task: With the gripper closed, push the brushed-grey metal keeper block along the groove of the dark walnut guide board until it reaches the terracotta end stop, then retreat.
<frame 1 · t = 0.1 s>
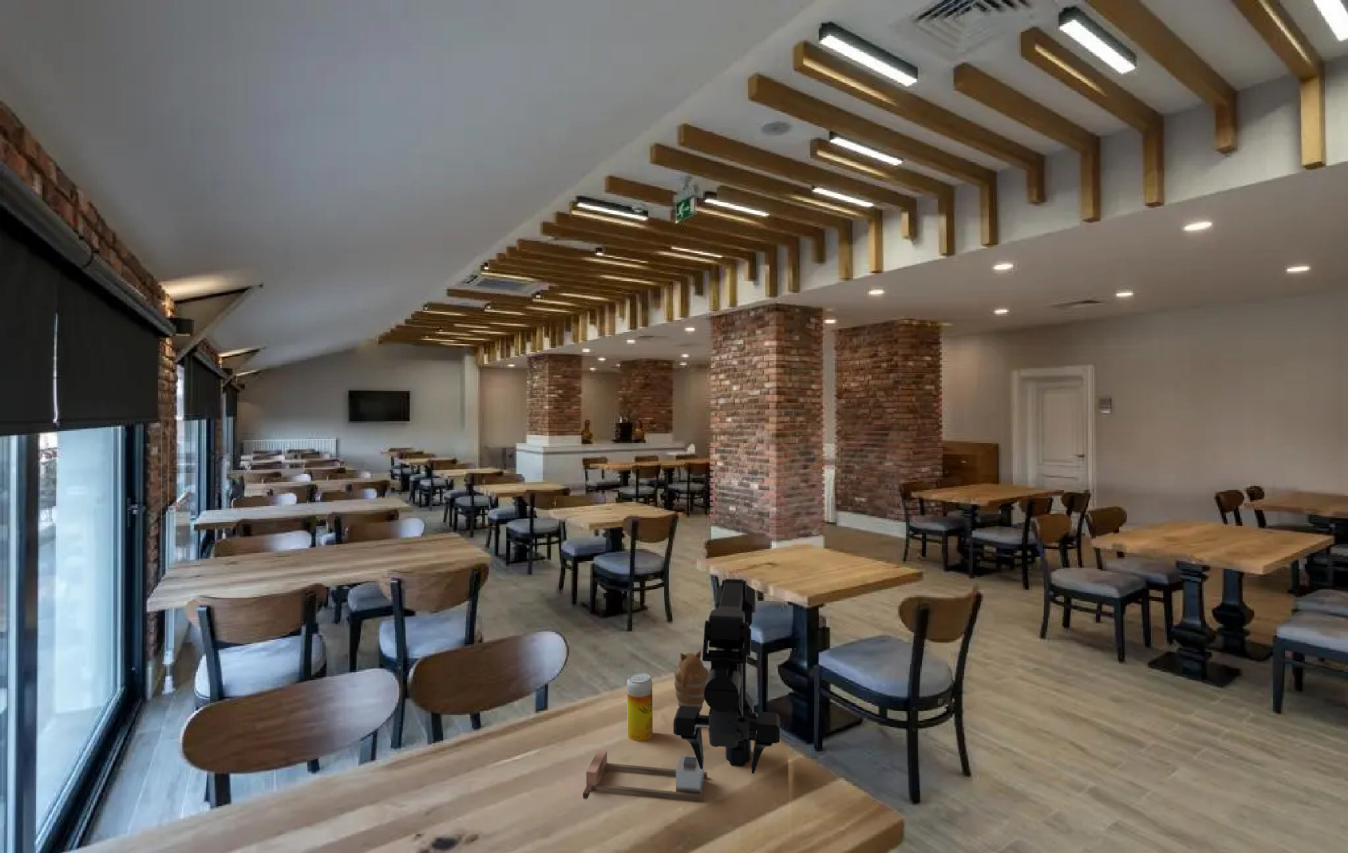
hand: (727, 770, 112), 15 cm above the table, fingers open, 9 cm apart
cat ice cream: (691, 722, 158), on the table
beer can: (640, 739, 150), on the table
guide board: (647, 788, 131), on the table
keeper: (690, 774, 129), point 4 cm above the table, slide at 0.0 cm
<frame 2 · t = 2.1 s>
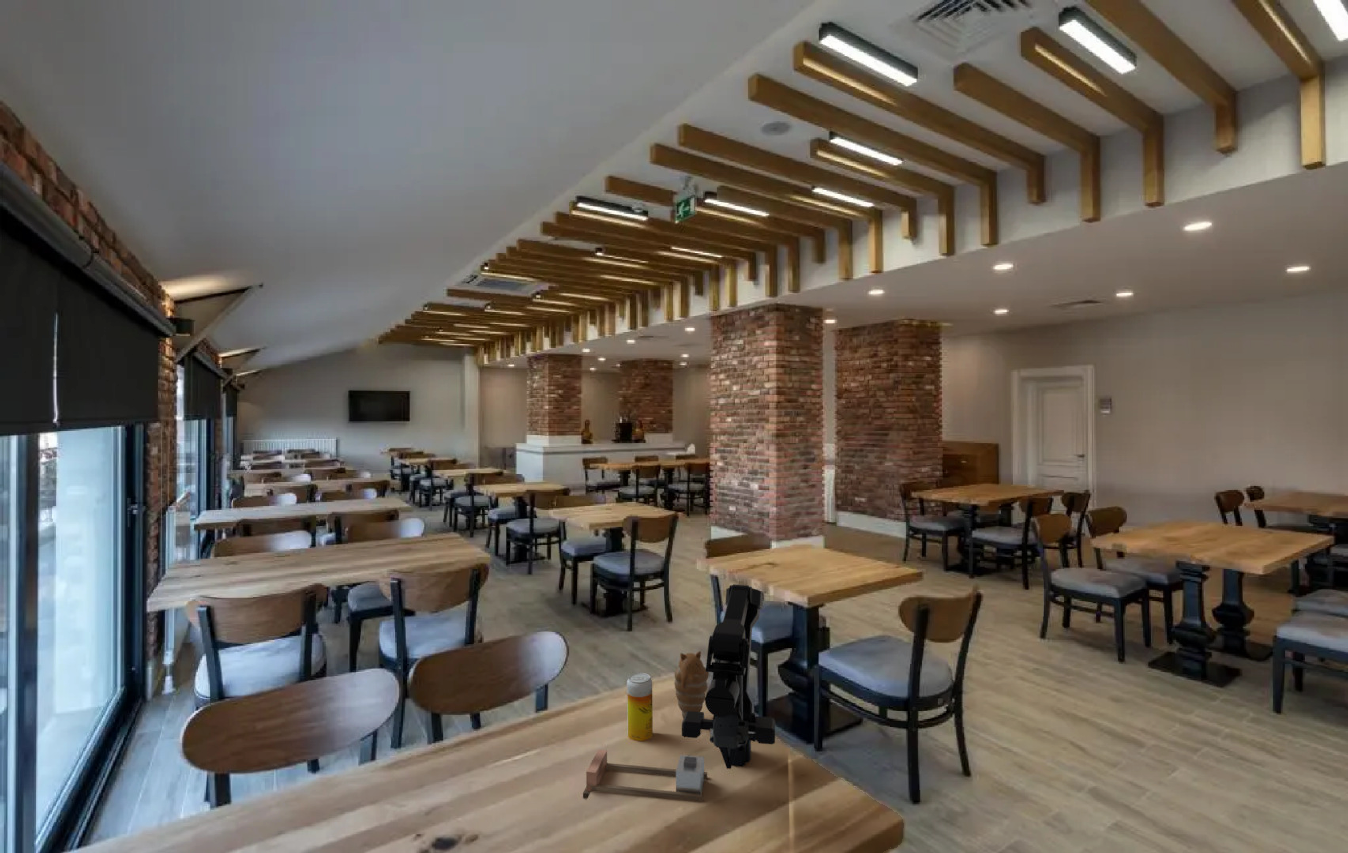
hand: (729, 767, 128), 6 cm above the table, fingers closed
nothing on the table moved.
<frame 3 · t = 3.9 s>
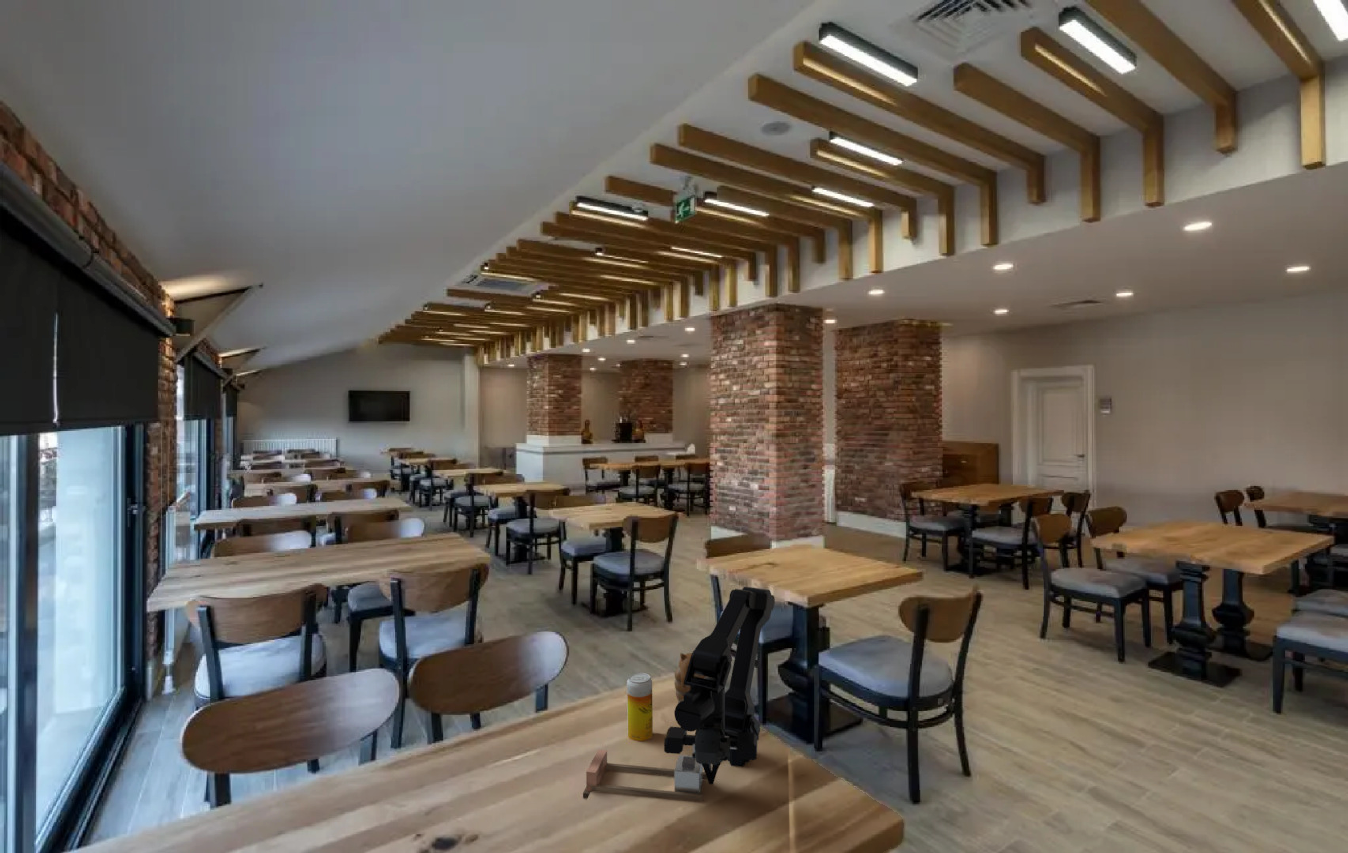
hand: (711, 783, 128), 3 cm above the table, fingers closed
keeper: (688, 773, 129), point 4 cm above the table, slide at 0.3 cm, touching gripper
everything else where it was.
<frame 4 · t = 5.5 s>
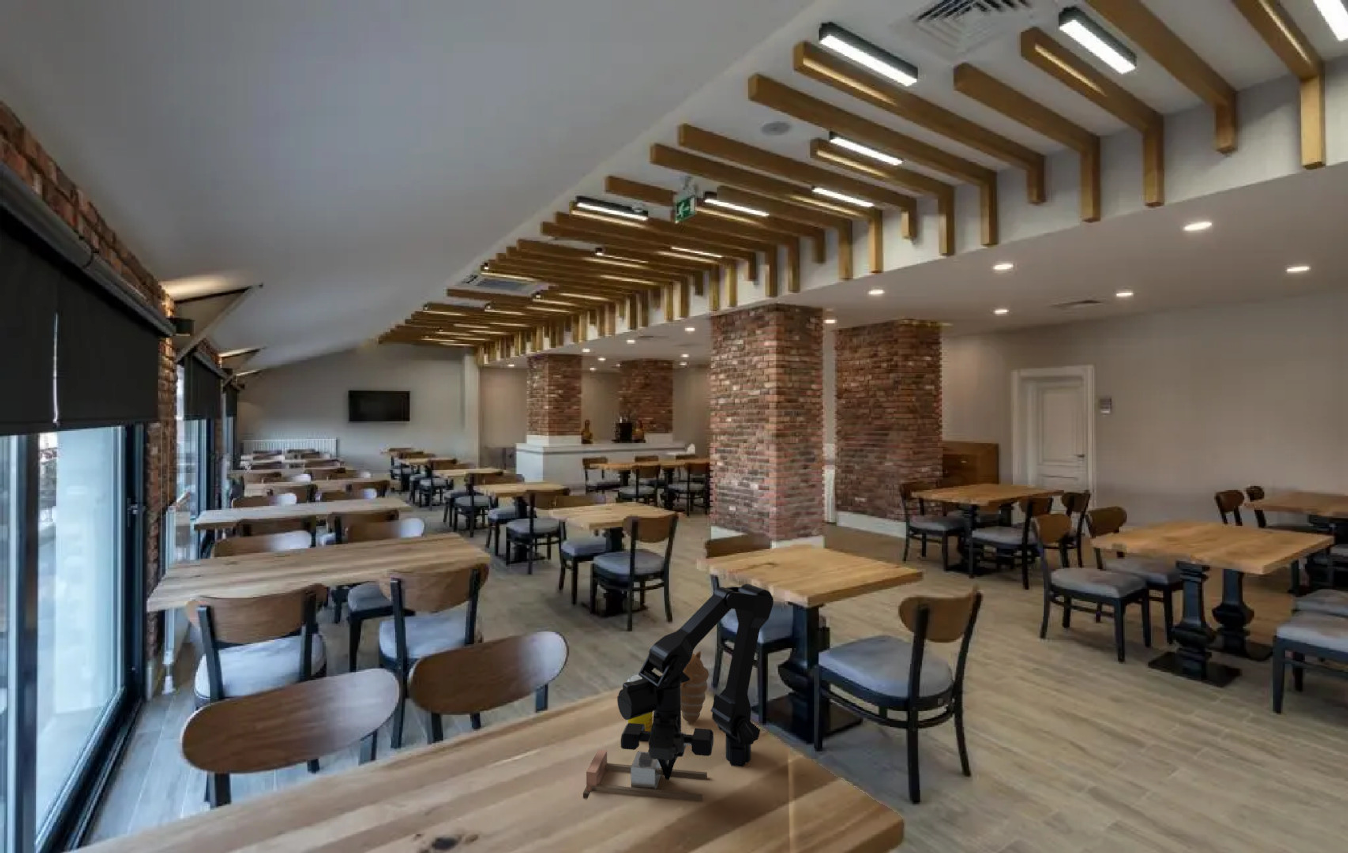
hand: (667, 779, 130), 3 cm above the table, fingers closed
keeper: (646, 769, 131), point 4 cm above the table, slide at 9.4 cm, touching gripper
everything else where it was.
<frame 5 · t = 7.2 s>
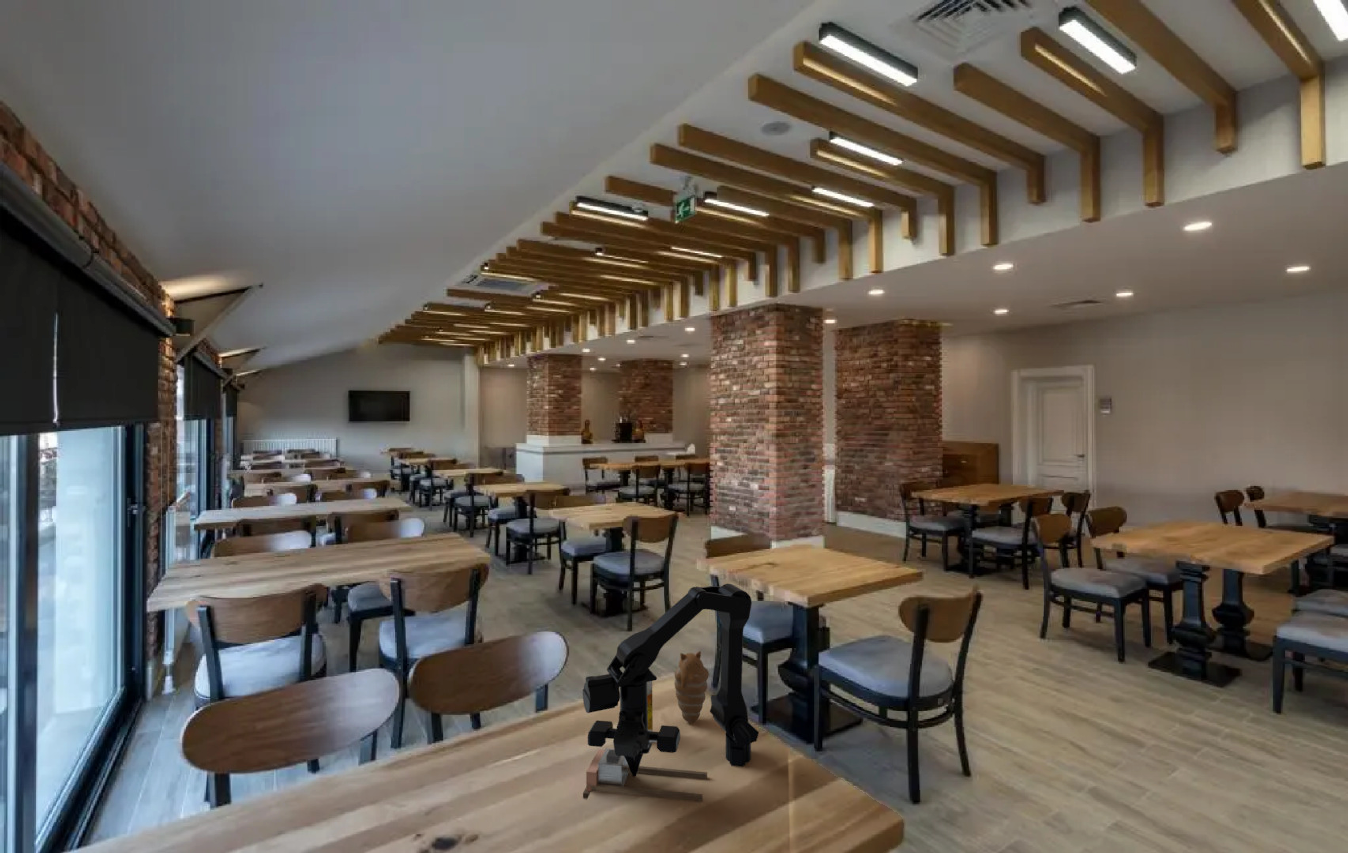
hand: (634, 775, 131), 3 cm above the table, fingers closed
keeper: (613, 766, 132), point 4 cm above the table, slide at 16.3 cm, touching gripper
everything else where it was.
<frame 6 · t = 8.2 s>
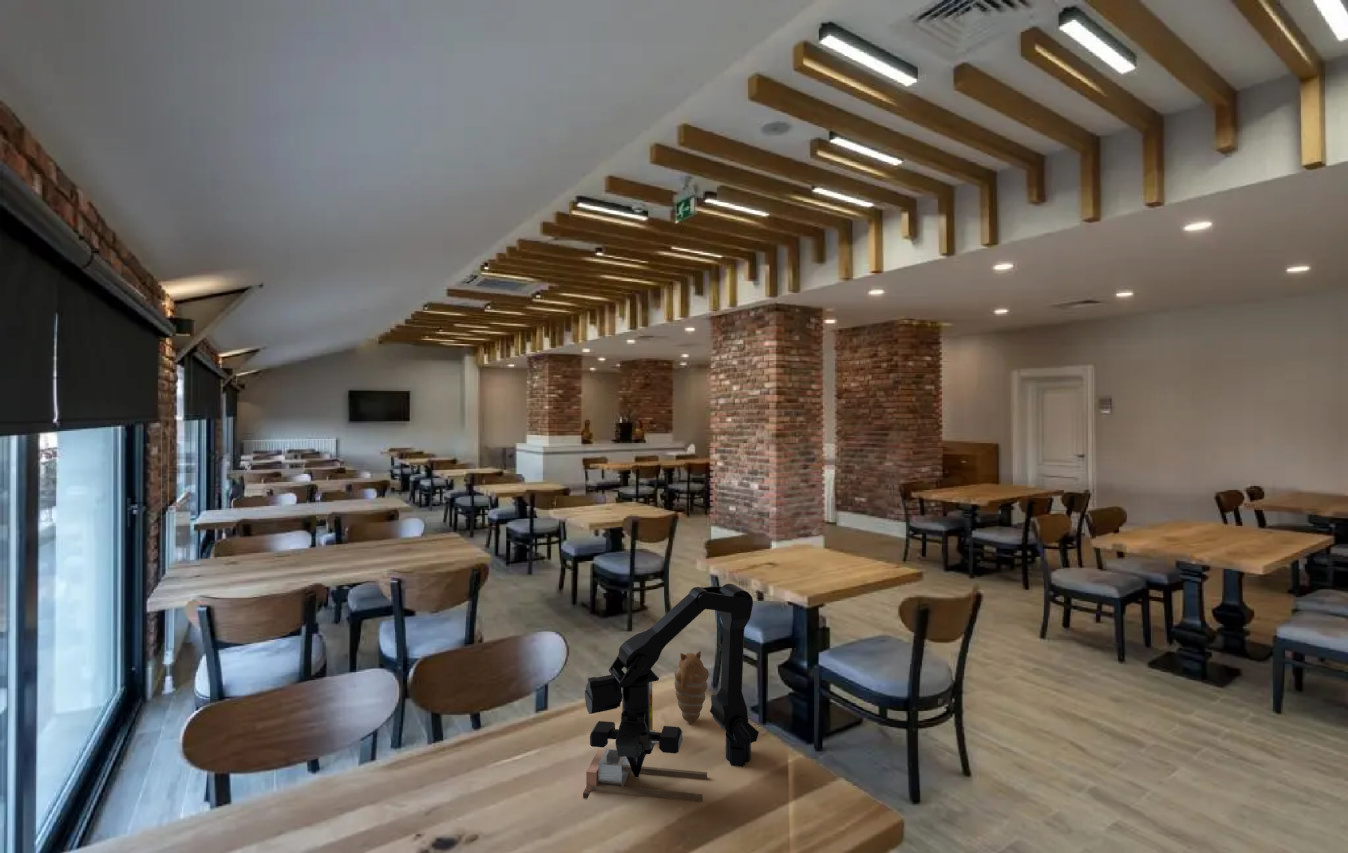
hand: (637, 776, 131), 2 cm above the table, fingers closed
keeper: (613, 766, 132), point 4 cm above the table, slide at 16.3 cm
everything else where it was.
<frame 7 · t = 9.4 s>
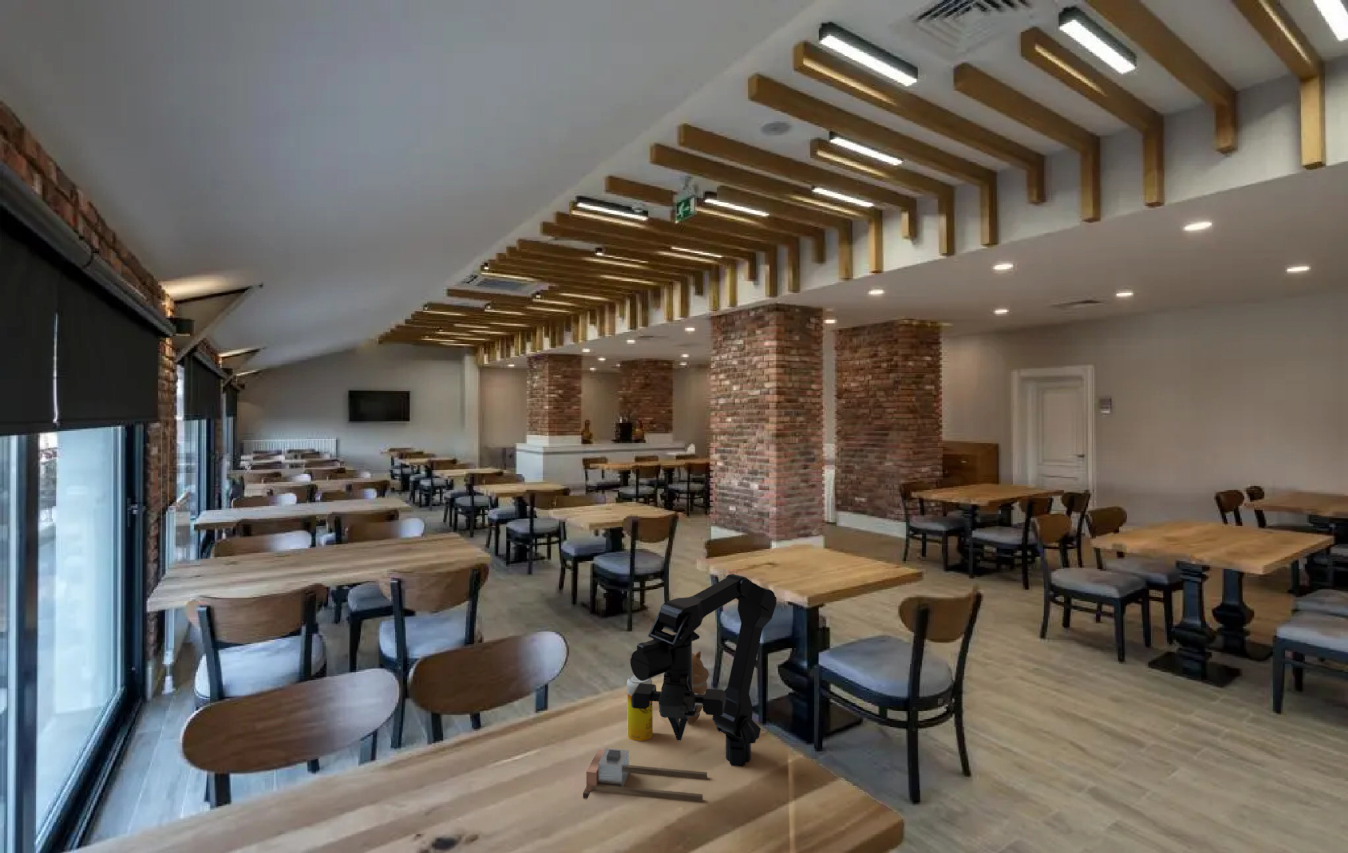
hand: (679, 739, 128), 12 cm above the table, fingers closed
nothing on the table moved.
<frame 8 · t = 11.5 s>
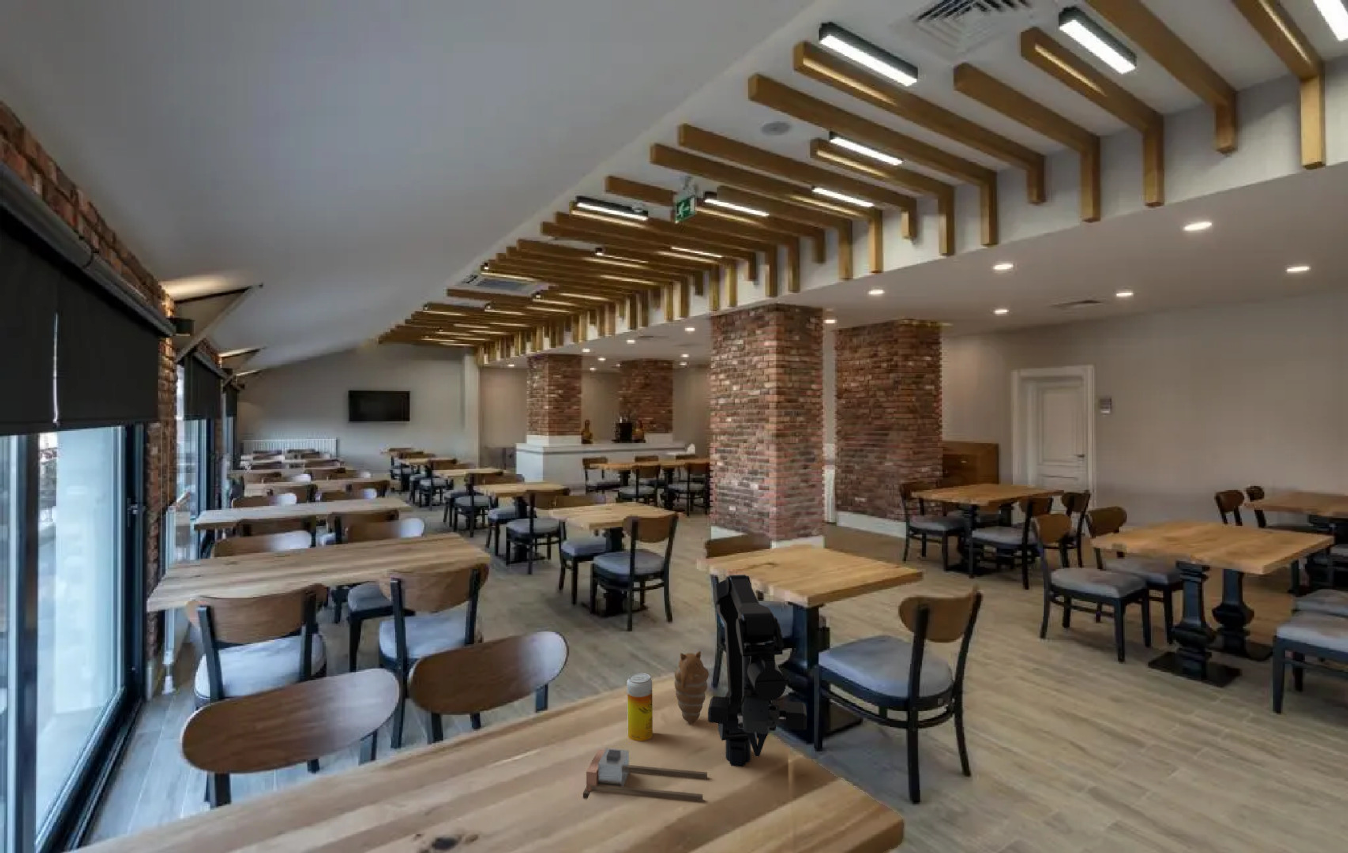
hand: (757, 755, 121), 12 cm above the table, fingers closed
nothing on the table moved.
at the end: keeper slide at 16.3 cm; keeper 0.2 cm from the target spot, point 4.0 cm above the table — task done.
